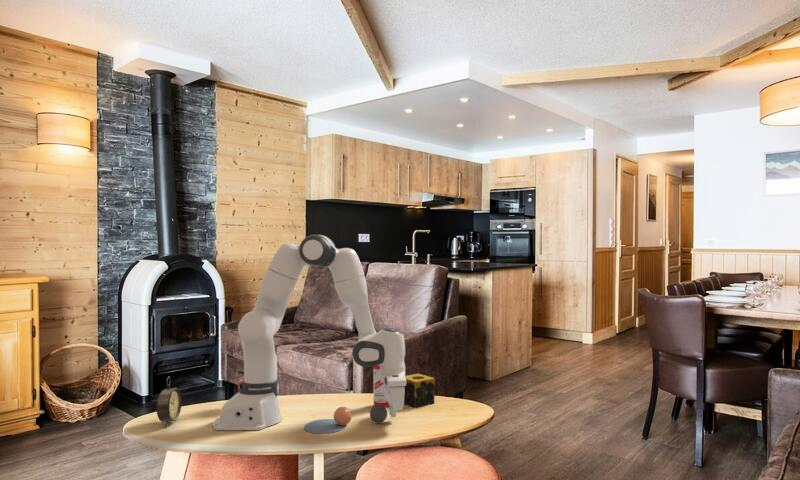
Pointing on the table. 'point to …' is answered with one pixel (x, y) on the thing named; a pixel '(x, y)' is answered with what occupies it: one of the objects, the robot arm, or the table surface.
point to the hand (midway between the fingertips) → (392, 416)
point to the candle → (419, 390)
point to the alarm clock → (169, 404)
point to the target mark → (323, 426)
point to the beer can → (378, 388)
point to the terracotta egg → (342, 416)
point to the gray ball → (378, 413)
